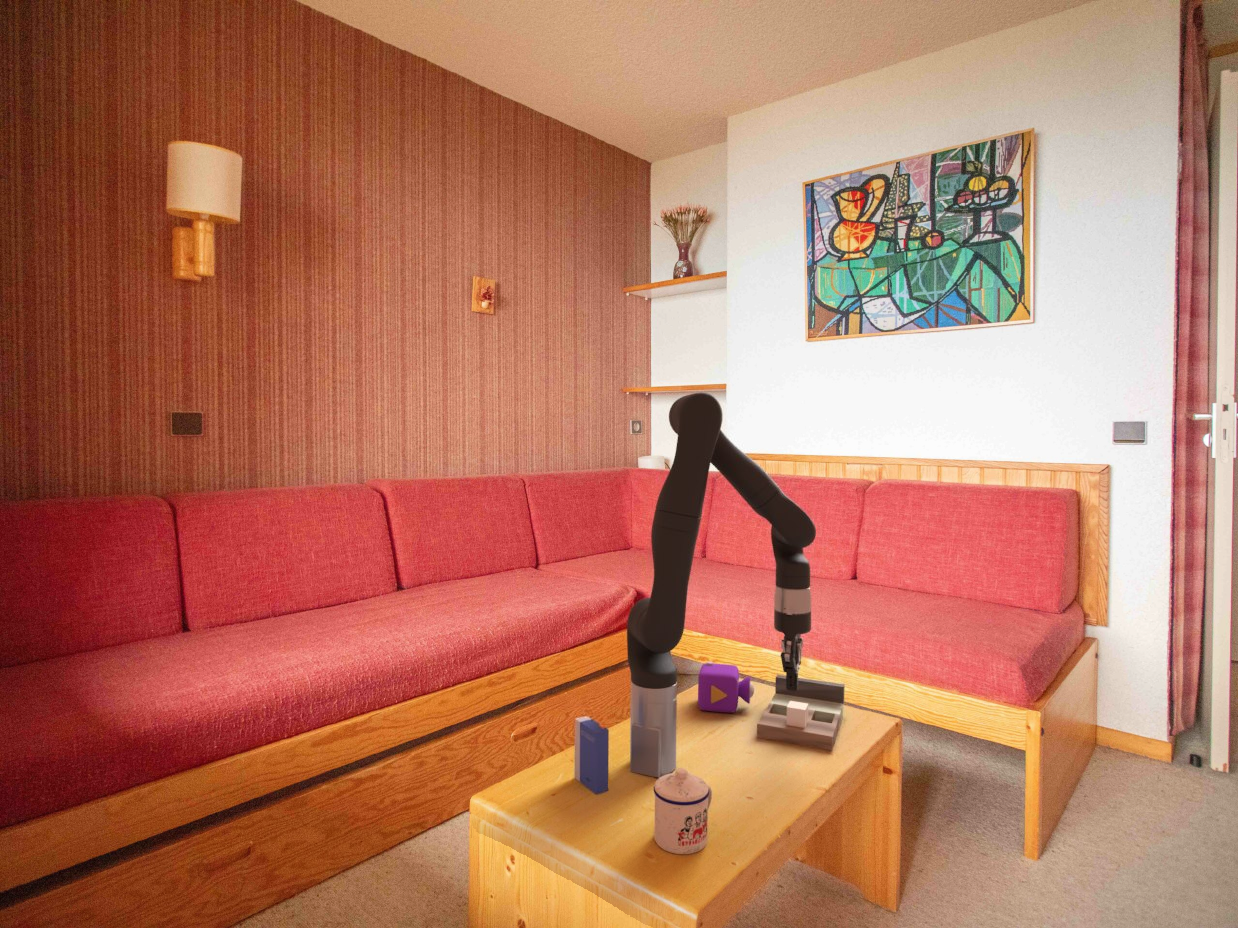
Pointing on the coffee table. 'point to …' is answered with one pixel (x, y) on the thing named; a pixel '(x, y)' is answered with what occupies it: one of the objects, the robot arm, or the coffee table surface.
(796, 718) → the block
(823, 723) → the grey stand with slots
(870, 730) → the coffee table surface
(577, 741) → the walkman
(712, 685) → the toy camera
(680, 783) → the teacup with lid
